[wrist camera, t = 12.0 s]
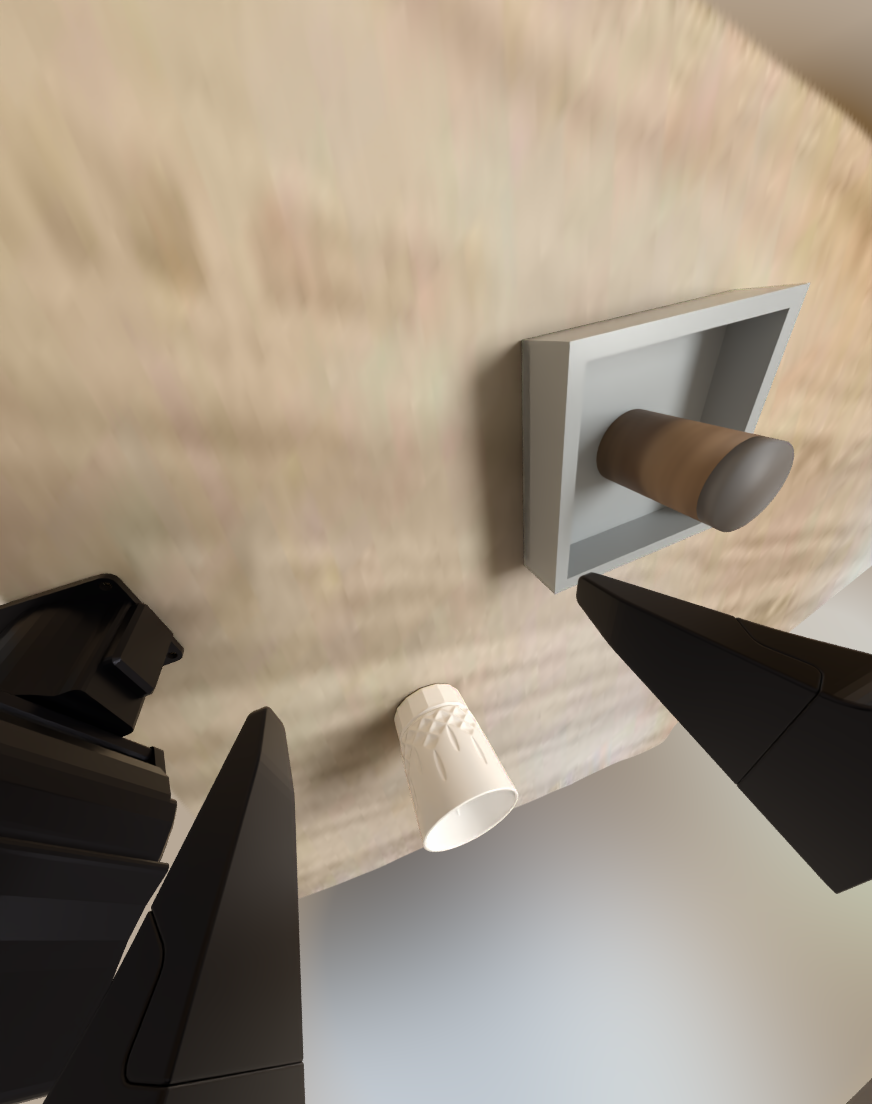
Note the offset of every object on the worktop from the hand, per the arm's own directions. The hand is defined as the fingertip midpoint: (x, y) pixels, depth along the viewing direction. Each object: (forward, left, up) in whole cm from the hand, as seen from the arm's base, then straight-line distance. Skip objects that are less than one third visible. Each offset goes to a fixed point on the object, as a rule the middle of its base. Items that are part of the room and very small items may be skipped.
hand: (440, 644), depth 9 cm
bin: (+19, -3, -13) cm, 23 cm away
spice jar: (+19, -3, -12) cm, 23 cm away
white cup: (0, -24, -13) cm, 27 cm away
